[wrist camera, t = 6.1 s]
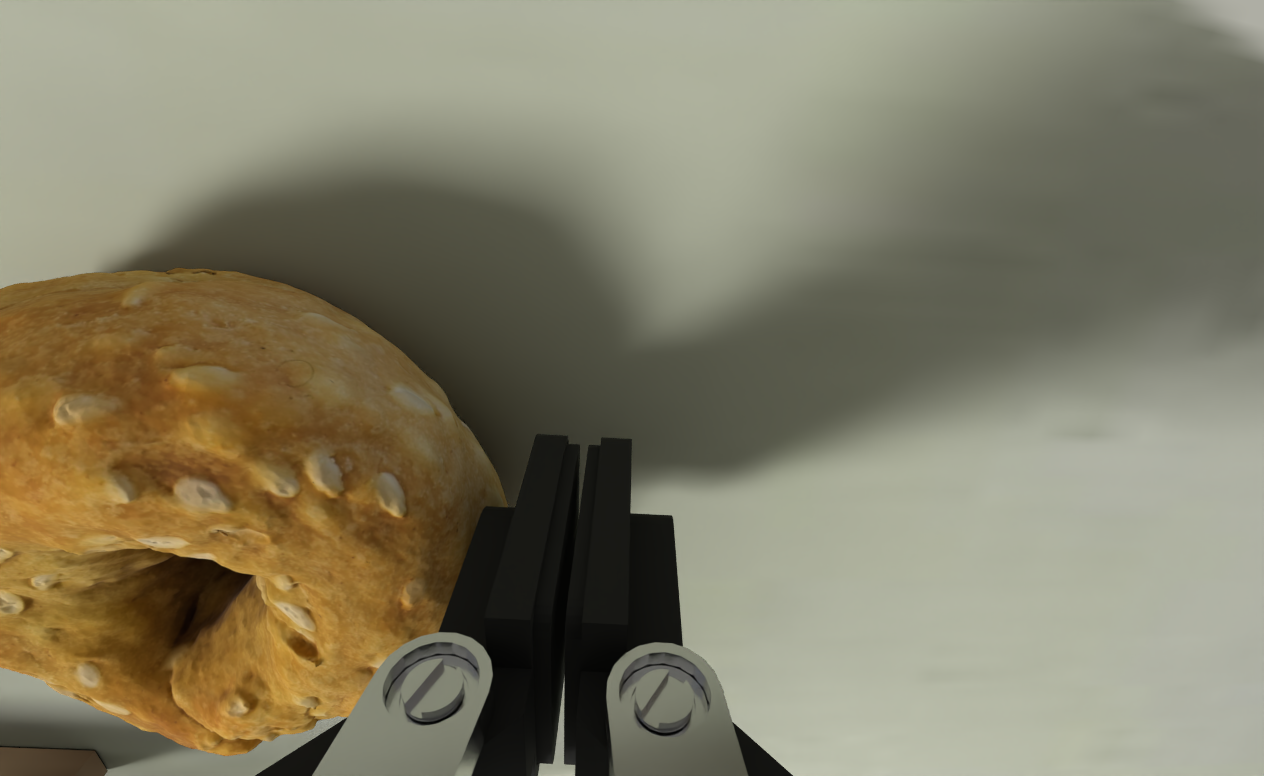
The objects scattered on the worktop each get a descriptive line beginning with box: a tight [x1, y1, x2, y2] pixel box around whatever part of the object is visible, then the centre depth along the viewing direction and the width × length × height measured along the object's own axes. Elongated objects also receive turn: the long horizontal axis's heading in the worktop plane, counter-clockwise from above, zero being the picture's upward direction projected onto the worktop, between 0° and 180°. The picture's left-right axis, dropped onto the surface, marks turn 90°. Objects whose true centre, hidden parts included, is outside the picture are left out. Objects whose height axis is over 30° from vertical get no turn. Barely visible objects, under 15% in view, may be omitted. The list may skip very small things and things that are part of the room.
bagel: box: [0, 268, 508, 756], centre depth 11 cm, size 10×11×5 cm
